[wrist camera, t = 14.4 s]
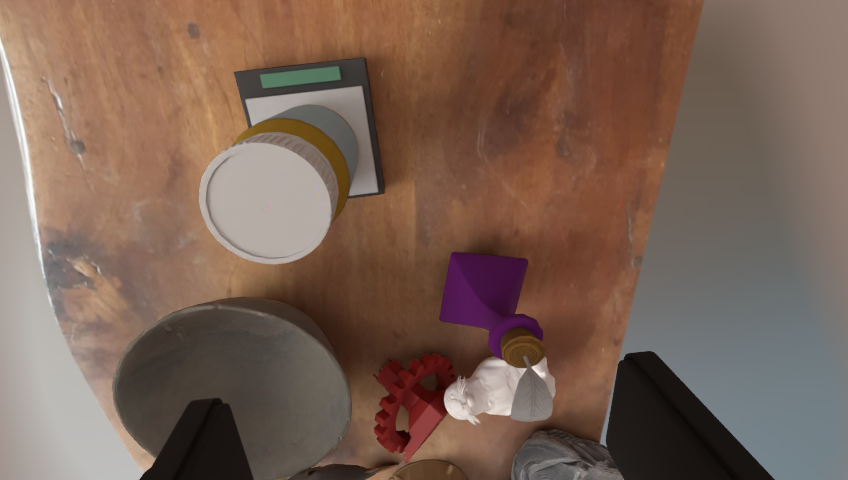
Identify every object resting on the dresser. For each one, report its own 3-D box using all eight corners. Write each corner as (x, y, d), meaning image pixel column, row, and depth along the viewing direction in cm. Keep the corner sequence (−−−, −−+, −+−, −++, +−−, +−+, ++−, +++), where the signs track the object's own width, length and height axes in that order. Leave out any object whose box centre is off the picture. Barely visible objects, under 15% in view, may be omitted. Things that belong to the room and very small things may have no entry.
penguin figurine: (525, 336, 48) (429, 370, 46) (554, 336, 40) (438, 377, 38) (545, 390, 47) (447, 427, 45) (579, 401, 38) (461, 447, 37)
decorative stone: (617, 489, 55) (563, 425, 61) (659, 456, 46) (590, 383, 52) (538, 562, 50) (487, 483, 56) (567, 541, 40) (501, 449, 46)
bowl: (319, 228, 39) (299, 278, 29) (381, 376, 46) (380, 453, 37) (133, 282, 39) (56, 349, 30) (224, 421, 46) (184, 507, 37)
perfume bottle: (446, 238, 40) (489, 357, 24) (518, 245, 41) (607, 363, 25) (434, 303, 43) (466, 450, 27) (502, 308, 44) (573, 452, 28)
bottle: (324, 206, 35) (286, 296, 21) (253, 153, 33) (159, 215, 19) (376, 144, 33) (370, 199, 20) (305, 83, 31) (242, 97, 17)
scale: (242, 71, 33) (230, 71, 30) (365, 57, 33) (364, 57, 31) (276, 200, 37) (268, 210, 35) (384, 187, 38) (384, 196, 35)
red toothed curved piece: (460, 398, 50) (411, 352, 53) (479, 370, 40) (417, 315, 43) (399, 472, 45) (348, 417, 48) (404, 460, 35) (340, 392, 38)
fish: (256, 471, 36) (305, 451, 35) (360, 459, 54) (394, 445, 53) (261, 530, 34) (314, 509, 33) (369, 497, 51) (404, 483, 51)
